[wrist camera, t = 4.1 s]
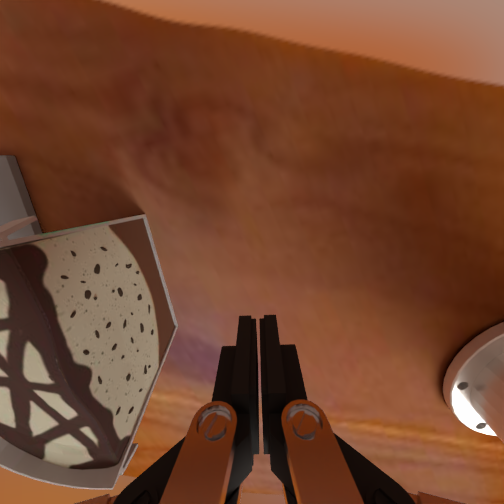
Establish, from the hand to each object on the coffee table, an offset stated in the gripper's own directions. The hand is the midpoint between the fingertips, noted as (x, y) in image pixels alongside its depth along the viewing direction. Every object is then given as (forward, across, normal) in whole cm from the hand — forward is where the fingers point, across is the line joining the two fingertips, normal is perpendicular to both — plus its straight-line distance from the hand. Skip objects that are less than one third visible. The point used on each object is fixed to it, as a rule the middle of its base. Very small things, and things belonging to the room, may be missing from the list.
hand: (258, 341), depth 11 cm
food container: (+8, +10, 0) cm, 13 cm away
